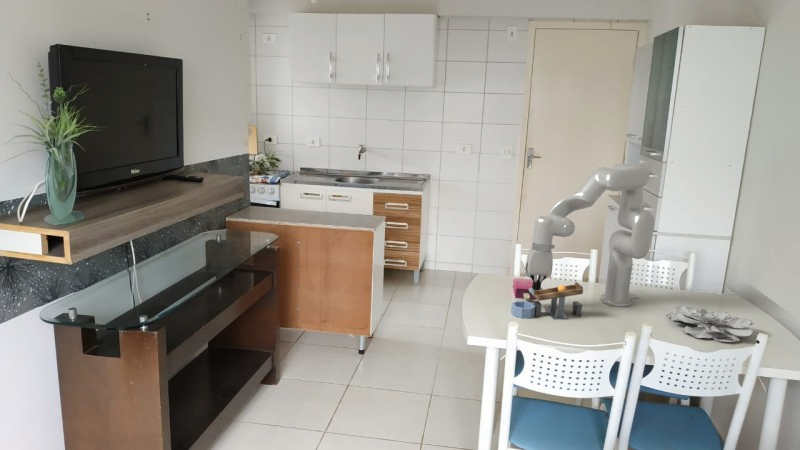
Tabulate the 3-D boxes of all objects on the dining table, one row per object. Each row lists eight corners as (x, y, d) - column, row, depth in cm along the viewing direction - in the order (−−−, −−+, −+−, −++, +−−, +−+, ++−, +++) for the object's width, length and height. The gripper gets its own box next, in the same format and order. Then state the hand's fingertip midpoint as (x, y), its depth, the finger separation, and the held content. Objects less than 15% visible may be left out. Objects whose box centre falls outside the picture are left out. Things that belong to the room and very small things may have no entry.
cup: (529, 310, 236) (530, 301, 235) (536, 318, 227) (537, 308, 226) (509, 310, 235) (509, 300, 234) (515, 318, 226) (516, 308, 225)
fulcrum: (573, 310, 238) (576, 289, 236) (583, 319, 229) (586, 297, 227) (530, 309, 236) (532, 288, 234) (538, 319, 227) (540, 297, 225)
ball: (556, 285, 231) (557, 292, 232) (559, 287, 228) (560, 295, 229) (564, 283, 231) (565, 290, 232) (567, 286, 228) (568, 293, 229)
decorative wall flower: (706, 296, 244) (775, 322, 217) (703, 311, 245) (772, 339, 218) (652, 303, 232) (719, 332, 205) (650, 319, 233) (715, 350, 206)
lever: (570, 283, 241) (570, 276, 240) (583, 294, 228) (582, 287, 228) (528, 290, 240) (528, 283, 239) (539, 301, 227) (538, 294, 226)
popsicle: (517, 292, 243) (513, 277, 263) (516, 303, 244) (512, 287, 264) (539, 294, 242) (533, 279, 262) (538, 304, 244) (532, 289, 263)
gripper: (556, 245, 237) (550, 288, 241) (520, 244, 235) (515, 287, 239) (562, 250, 229) (556, 294, 233) (526, 248, 228) (520, 293, 232)
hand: (535, 290), depth 236 cm, fingers closed
